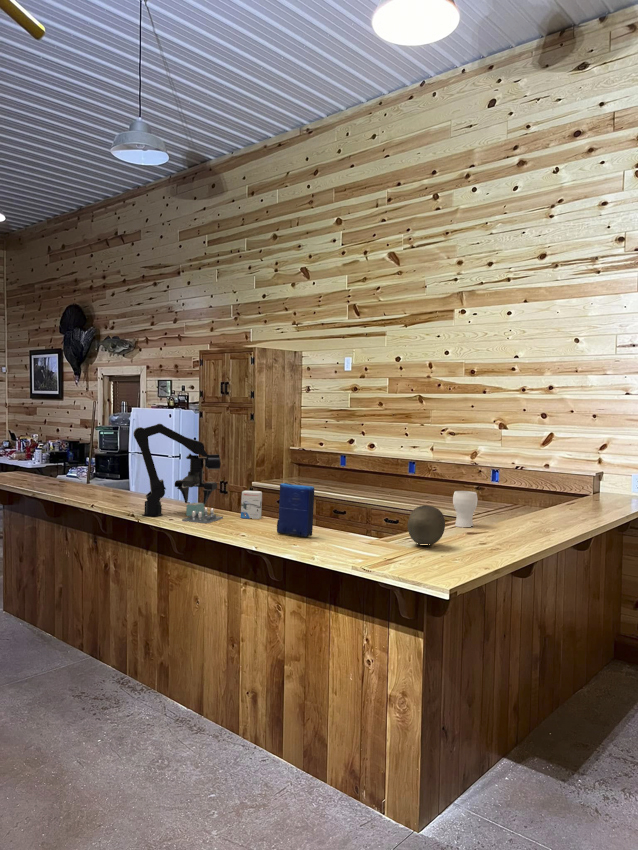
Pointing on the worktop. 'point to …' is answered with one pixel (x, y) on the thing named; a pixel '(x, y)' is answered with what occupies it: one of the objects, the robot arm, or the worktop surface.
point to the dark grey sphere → (426, 525)
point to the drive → (194, 508)
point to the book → (295, 510)
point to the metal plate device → (203, 517)
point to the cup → (464, 507)
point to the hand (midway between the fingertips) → (195, 503)
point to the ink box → (251, 504)
